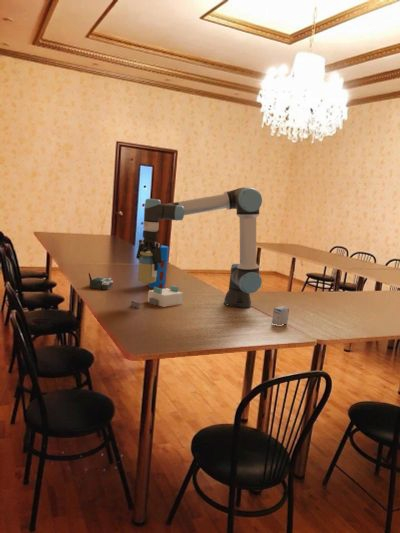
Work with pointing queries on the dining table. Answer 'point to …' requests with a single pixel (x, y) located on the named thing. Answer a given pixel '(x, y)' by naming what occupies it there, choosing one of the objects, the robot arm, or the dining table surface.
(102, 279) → the communication device
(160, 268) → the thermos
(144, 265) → the jar
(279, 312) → the medicine box
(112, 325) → the dining table surface
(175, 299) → the block
